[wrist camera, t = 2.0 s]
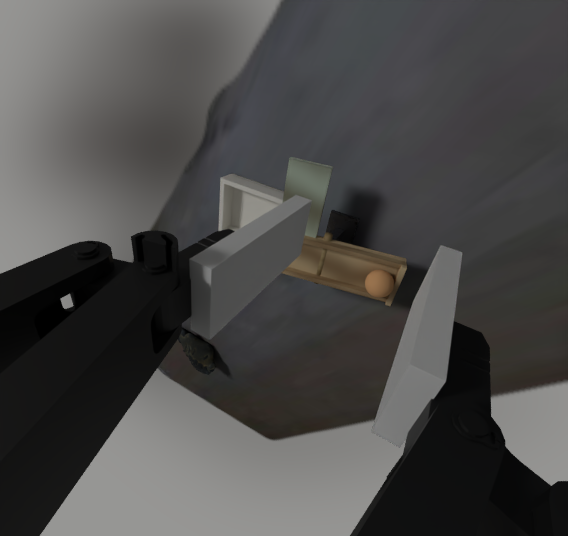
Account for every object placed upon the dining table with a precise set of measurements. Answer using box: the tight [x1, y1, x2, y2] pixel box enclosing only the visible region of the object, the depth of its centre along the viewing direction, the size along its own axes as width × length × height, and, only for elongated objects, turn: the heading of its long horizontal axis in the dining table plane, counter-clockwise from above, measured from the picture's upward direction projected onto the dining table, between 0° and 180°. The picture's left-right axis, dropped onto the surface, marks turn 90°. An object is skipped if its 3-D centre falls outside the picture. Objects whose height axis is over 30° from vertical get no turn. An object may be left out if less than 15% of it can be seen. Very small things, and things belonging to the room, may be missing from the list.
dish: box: [219, 174, 284, 231], centre depth 51 cm, size 9×12×3 cm
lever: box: [281, 157, 407, 306], centre depth 40 cm, size 16×16×2 cm
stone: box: [178, 328, 216, 375], centre depth 76 cm, size 7×13×5 cm, turn 62°
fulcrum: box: [326, 210, 359, 244], centre depth 46 cm, size 9×4×5 cm, turn 170°
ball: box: [365, 270, 394, 298], centre depth 40 cm, size 4×4×4 cm
